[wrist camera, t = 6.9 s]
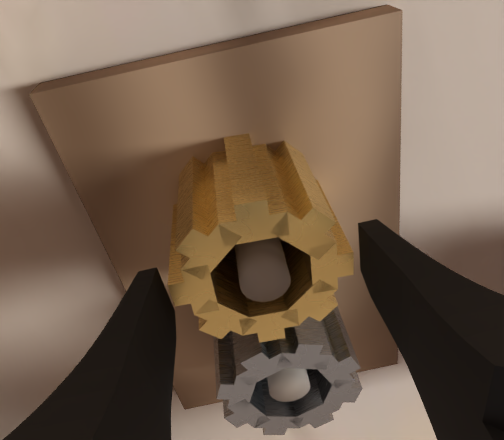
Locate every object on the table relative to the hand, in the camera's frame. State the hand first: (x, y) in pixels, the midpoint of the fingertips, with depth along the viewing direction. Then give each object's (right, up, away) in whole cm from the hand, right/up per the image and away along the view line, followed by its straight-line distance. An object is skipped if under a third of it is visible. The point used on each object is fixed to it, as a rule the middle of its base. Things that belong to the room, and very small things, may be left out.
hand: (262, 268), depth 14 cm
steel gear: (+1, -3, +6) cm, 7 cm away
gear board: (0, 0, +6) cm, 6 cm away
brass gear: (-1, +2, +3) cm, 4 cm away
